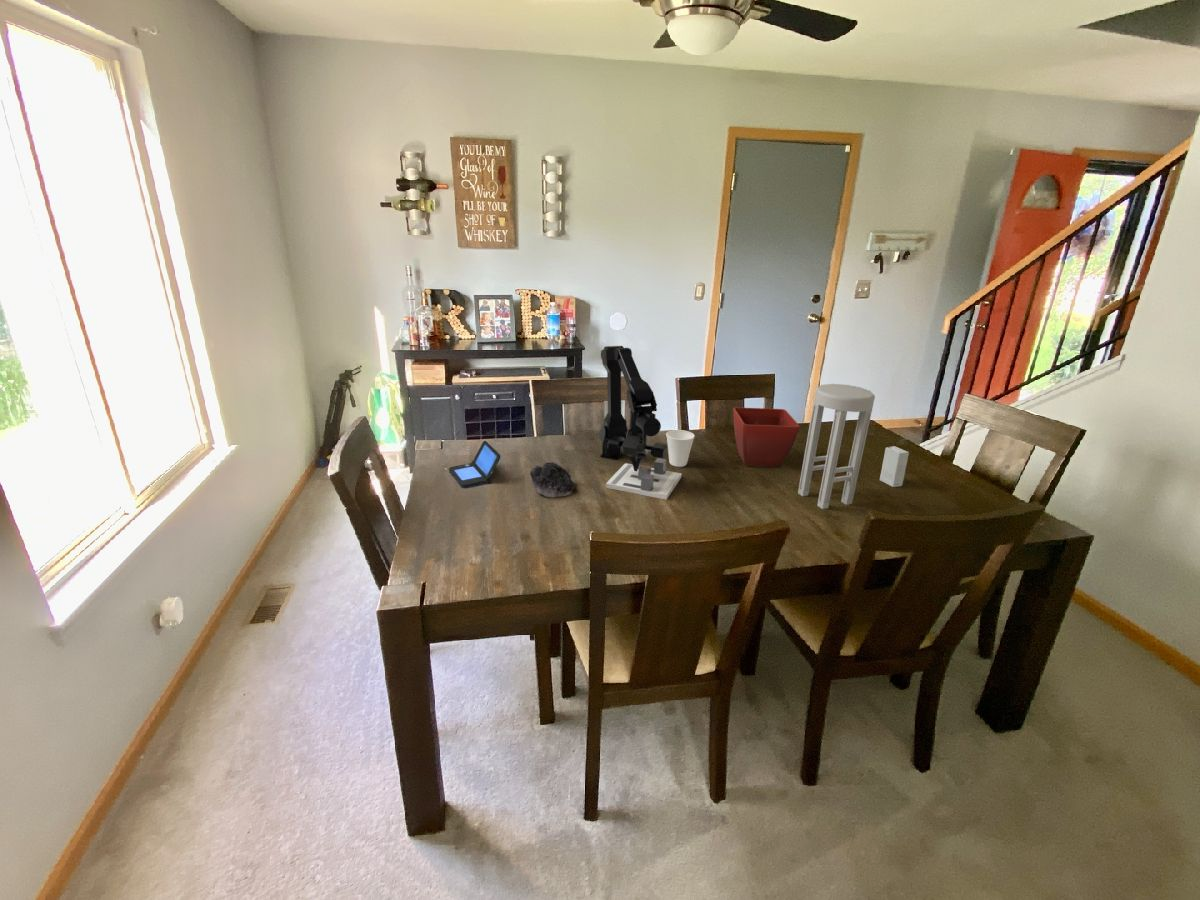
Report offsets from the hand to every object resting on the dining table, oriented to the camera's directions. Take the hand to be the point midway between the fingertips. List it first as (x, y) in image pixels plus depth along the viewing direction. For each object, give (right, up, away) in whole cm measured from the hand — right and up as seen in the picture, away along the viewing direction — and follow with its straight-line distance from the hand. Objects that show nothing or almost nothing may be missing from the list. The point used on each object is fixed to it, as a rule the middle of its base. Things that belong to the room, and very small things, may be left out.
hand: (636, 470), depth 185 cm
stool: (+59, -9, -7) cm, 60 cm away
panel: (+3, -4, 0) cm, 5 cm away
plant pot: (+46, +3, +21) cm, 50 cm away
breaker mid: (+3, -2, 0) cm, 4 cm away
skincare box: (+85, -4, +5) cm, 86 cm away
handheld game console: (-53, -2, +2) cm, 53 cm away
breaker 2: (+8, 0, +5) cm, 10 cm away
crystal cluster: (-26, -6, -6) cm, 28 cm away
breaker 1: (+3, -5, -7) cm, 9 cm away
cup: (+16, +2, +16) cm, 22 cm away
